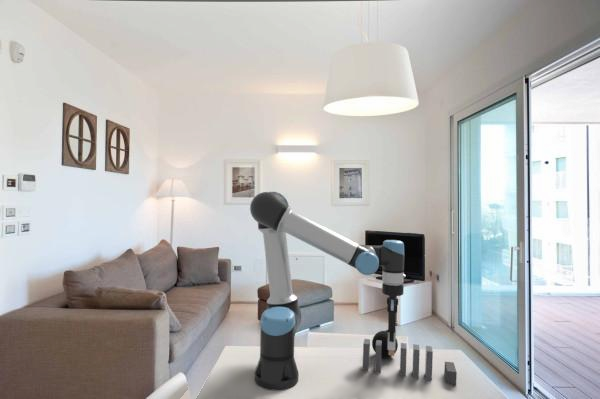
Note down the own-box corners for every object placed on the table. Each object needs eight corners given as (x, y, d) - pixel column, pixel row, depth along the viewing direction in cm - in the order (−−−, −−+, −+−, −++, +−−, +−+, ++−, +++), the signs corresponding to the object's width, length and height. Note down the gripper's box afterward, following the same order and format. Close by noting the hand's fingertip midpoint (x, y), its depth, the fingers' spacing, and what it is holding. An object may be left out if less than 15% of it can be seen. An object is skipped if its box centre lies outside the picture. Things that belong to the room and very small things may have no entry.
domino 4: (400, 375, 141) (400, 348, 140) (400, 369, 146) (400, 342, 145) (405, 376, 140) (406, 348, 140) (405, 370, 145) (406, 343, 145)
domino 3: (388, 355, 142) (389, 327, 141) (388, 349, 146) (389, 323, 146) (394, 355, 141) (394, 328, 141) (394, 350, 146) (395, 323, 146)
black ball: (400, 354, 159) (401, 330, 159) (393, 364, 150) (393, 338, 150) (376, 349, 164) (377, 325, 164) (368, 358, 155) (368, 332, 155)
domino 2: (374, 372, 143) (375, 345, 143) (375, 366, 148) (376, 340, 147) (380, 373, 142) (381, 345, 142) (381, 367, 147) (381, 340, 147)
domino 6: (425, 379, 138) (426, 351, 138) (425, 373, 143) (425, 345, 143) (431, 380, 138) (432, 351, 138) (430, 373, 143) (431, 346, 143)
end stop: (446, 384, 135) (447, 371, 135) (444, 373, 143) (444, 361, 143) (456, 385, 135) (456, 372, 135) (453, 374, 142) (453, 362, 142)
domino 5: (412, 377, 140) (413, 349, 139) (412, 371, 144) (413, 344, 144) (418, 378, 139) (419, 350, 139) (418, 372, 144) (418, 344, 144)
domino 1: (362, 370, 144) (363, 343, 144) (363, 365, 149) (364, 338, 149) (368, 371, 143) (368, 344, 143) (369, 365, 148) (370, 339, 148)
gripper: (403, 289, 134) (402, 358, 134) (403, 278, 151) (402, 338, 152) (381, 288, 135) (379, 355, 136) (383, 277, 153) (382, 336, 153)
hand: (391, 346), depth 144 cm, fingers closed on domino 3, 5 cm apart
